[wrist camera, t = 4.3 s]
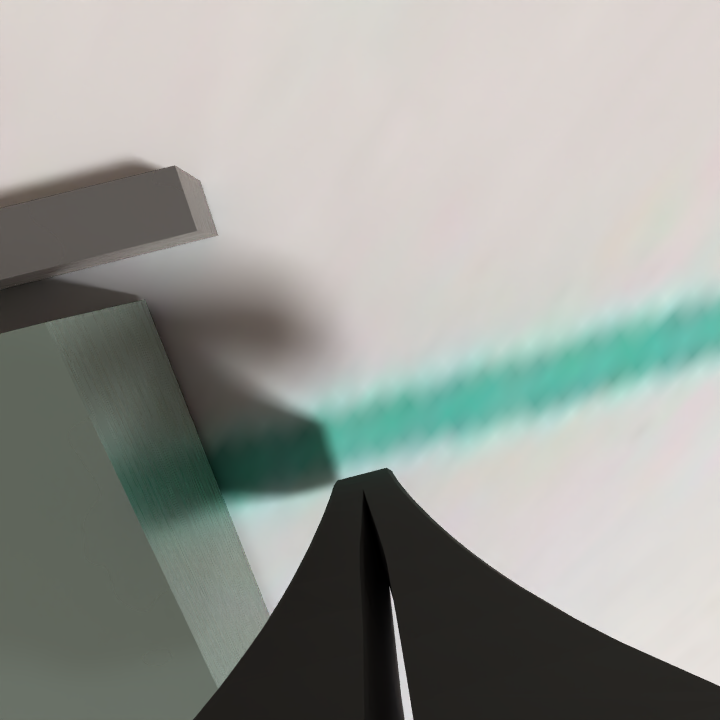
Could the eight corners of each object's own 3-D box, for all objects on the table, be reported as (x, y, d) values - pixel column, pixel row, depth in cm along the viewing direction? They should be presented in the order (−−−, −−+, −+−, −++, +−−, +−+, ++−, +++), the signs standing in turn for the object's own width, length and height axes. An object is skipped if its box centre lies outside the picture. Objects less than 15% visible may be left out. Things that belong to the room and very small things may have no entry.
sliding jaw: (291, 670, 12) (279, 816, 9) (-6, 752, 12) (-127, 930, 9) (144, 299, 9) (44, 322, 6) (-265, 402, 9) (-602, 485, 6)
